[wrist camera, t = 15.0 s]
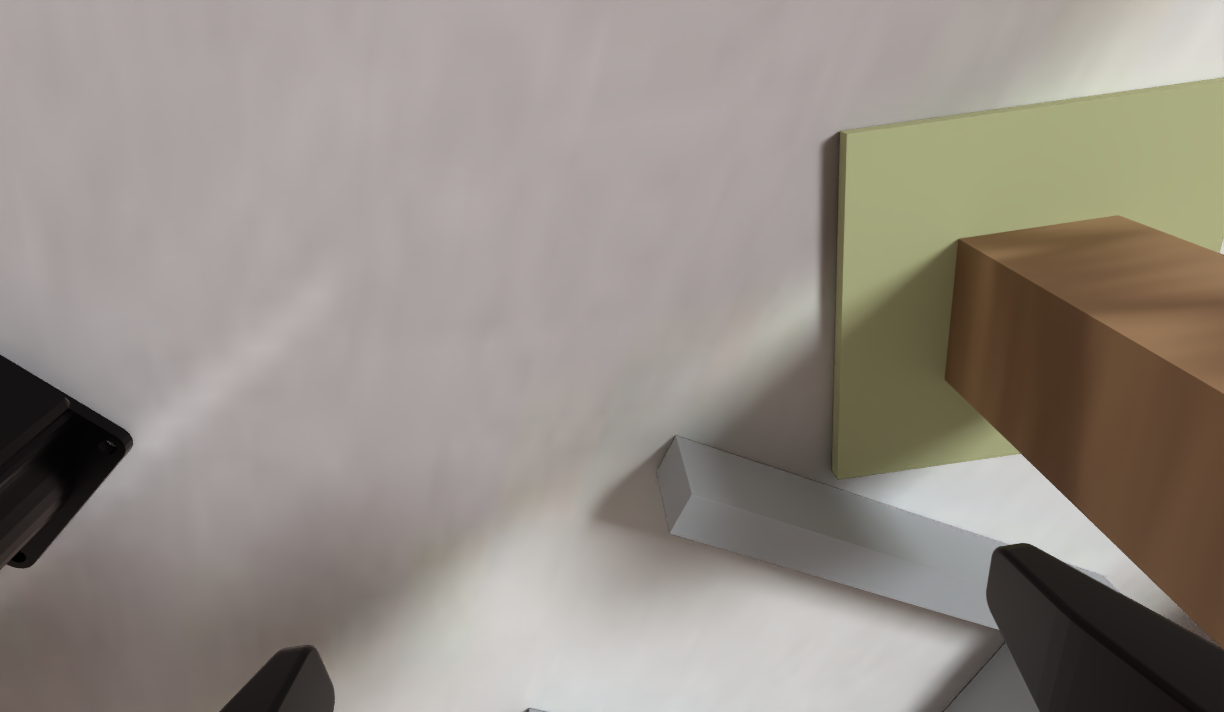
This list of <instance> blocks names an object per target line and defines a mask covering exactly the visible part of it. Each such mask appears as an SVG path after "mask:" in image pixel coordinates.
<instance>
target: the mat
mask: <svg viewBox="0 0 1224 712" xmlns="http://www.w3.org/2000/svg"><path fill="white" fill-rule="evenodd" d="M1116 215H1119V216H1122V217H1125V218H1127V219H1130V220H1133V221H1135V222H1138V223H1141V224H1143V225H1146V226H1149V227H1151V228H1154V229H1157V230H1159V231H1162V232H1165V233H1167V234H1170V235H1173V236H1175V237H1178V238H1181V239H1183V240H1186V241H1188V242H1191V243H1194V244H1196V245H1199V246H1202V247H1204V248H1207V249H1210V250H1212V251H1215V252H1218V253H1219V252H1220V249H1221V245H1222V242H1223V238H1224V78H1217V79H1210V80H1202V81H1195V82H1188V83H1181V84H1174V85H1166V86H1159V87H1152V88H1145V89H1138V90H1131V91H1123V92H1116V93H1109V94H1102V95H1095V96H1087V97H1080V98H1073V99H1066V100H1059V101H1052V102H1044V103H1037V104H1030V105H1023V106H1016V107H1008V108H1001V109H994V110H987V111H980V112H973V113H965V114H958V115H951V116H944V117H937V118H929V119H922V120H915V121H908V122H901V123H894V124H886V125H879V126H872V127H865V128H858V129H850V130H843V131H840V152H839V194H838V236H837V278H836V320H835V362H834V405H833V447H832V472H833V473H834V475H835V477H836V479H837V480H840V479H847V478H854V477H861V476H868V475H875V474H882V473H889V472H896V471H903V470H910V469H917V468H924V467H931V466H938V465H945V464H952V463H959V462H966V461H973V460H980V459H987V458H994V457H1001V456H1007V455H1014V454H1021V453H1020V452H1019V451H1018V450H1017V449H1016V448H1015V447H1014V446H1013V445H1012V444H1011V443H1010V442H1009V441H1007V440H1006V439H1005V438H1004V437H1003V436H1002V435H1001V434H1000V433H999V432H998V431H997V430H996V429H995V428H994V427H993V426H992V425H991V424H990V423H989V422H988V421H987V420H986V419H985V418H984V417H983V416H982V415H981V414H980V413H979V412H978V411H976V410H975V409H974V408H973V407H972V406H971V405H970V404H969V403H968V402H967V401H966V400H965V399H964V398H963V397H962V396H961V395H960V394H959V393H958V392H957V391H956V390H955V389H954V388H953V387H952V386H951V385H950V384H949V383H948V382H947V381H945V370H946V359H947V349H948V339H949V329H950V318H951V308H952V298H953V287H954V277H955V267H956V257H957V246H958V239H960V238H966V237H973V236H980V235H987V234H994V233H1000V232H1007V231H1014V230H1021V229H1027V228H1034V227H1041V226H1048V225H1055V224H1061V223H1068V222H1075V221H1082V220H1089V219H1095V218H1102V217H1109V216H1116Z"/></svg>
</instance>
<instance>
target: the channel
mask: <svg viewBox="0 0 1224 712" xmlns="http://www.w3.org/2000/svg"><path fill="white" fill-rule="evenodd" d="M656 473H657V477H658V482H659V487H660V492H661V496H662V501H663V506H664V510H665V515H666V520H667V525H668V529H669V534H672V535H676V536H679V537H683V538H686V539H689V540H693V541H696V542H700V543H703V544H706V545H710V546H713V547H717V548H720V549H724V550H727V551H730V552H734V553H737V554H741V555H744V556H748V557H751V558H754V559H758V560H761V561H765V562H768V563H772V564H775V565H778V566H782V567H785V568H789V569H792V570H796V571H799V572H802V573H806V574H809V575H813V576H816V577H820V578H823V579H826V580H830V581H833V582H837V583H840V584H844V585H847V586H850V587H854V588H857V589H861V590H864V591H868V592H871V593H874V594H878V595H881V596H885V597H888V598H892V599H895V600H898V601H902V602H905V603H909V604H912V605H916V606H919V607H922V608H926V609H929V610H933V611H936V612H940V613H943V614H946V615H950V616H953V617H957V618H960V619H964V620H967V621H970V622H974V623H977V624H981V625H984V626H987V627H991V628H994V629H998V627H997V624H996V622H995V620H994V618H993V616H992V614H991V612H990V610H989V607H988V604H987V600H986V587H987V581H988V575H989V569H990V563H991V557H992V553H993V551H994V550H995V549H996V548H997V547H999V546H1006V545H1008V544H1004V543H1001V542H998V541H995V540H992V539H989V538H986V537H983V536H980V535H977V534H974V533H971V532H968V531H965V530H962V529H959V528H956V527H953V526H950V525H947V524H944V523H941V522H938V521H934V520H931V519H928V518H925V517H922V516H919V515H916V514H913V513H910V512H907V511H904V510H901V509H898V508H895V507H892V506H889V505H886V504H883V503H880V502H877V501H874V500H871V499H868V498H864V497H861V496H858V495H855V494H852V493H849V492H846V491H843V490H840V489H837V488H834V487H831V486H828V485H825V484H822V483H819V482H816V481H813V480H810V479H807V478H804V477H801V476H798V475H794V474H791V473H788V472H785V471H782V470H779V469H776V468H773V467H770V466H767V465H764V464H761V463H758V462H755V461H752V460H749V459H746V458H743V457H740V456H737V455H734V454H731V453H728V452H724V451H721V450H718V449H715V448H712V447H709V446H706V445H703V444H700V443H697V442H694V441H691V440H688V439H685V438H682V437H679V436H675V438H674V440H673V442H672V444H671V446H670V447H669V449H668V451H667V453H666V455H665V457H664V459H663V460H662V462H661V464H660V466H659V468H658V470H657V472H656ZM1070 566H1071V565H1070ZM1071 567H1073V568H1075V569H1077V570H1079V571H1081V572H1082V573H1084V574H1086V575H1088V576H1090V577H1092V578H1093V579H1095V580H1097V581H1099V582H1101V583H1103V584H1104V585H1106V586H1108V587H1110V588H1112V589H1114V590H1115V591H1117V592H1119V591H1118V590H1117V589H1116V588H1115V587H1114V586H1113V585H1112V584H1111V583H1110V582H1109V581H1108V580H1107V579H1106V578H1105V577H1104V576H1102V575H1099V574H1096V573H1093V572H1090V571H1087V570H1084V569H1081V568H1078V567H1074V566H1071ZM1119 593H1120V592H1119ZM998 630H999V629H998ZM528 712H544V711H539V710H535V709H530V708H529V710H528ZM944 712H1039V710H1038V708H1037V706H1036V704H1035V702H1034V700H1033V698H1032V696H1031V694H1030V692H1029V690H1028V688H1027V686H1026V684H1025V682H1024V680H1023V678H1022V676H1021V674H1020V672H1019V670H1018V667H1017V665H1016V663H1015V661H1014V659H1013V657H1012V655H1011V653H1010V651H1009V649H1008V647H1007V645H1006V643H1005V644H1004V645H1003V646H1002V647H1001V648H1000V649H999V650H998V652H997V653H996V654H995V655H994V656H993V657H992V658H991V659H990V660H989V662H988V663H987V664H986V665H985V666H984V667H983V668H982V669H981V671H980V672H979V673H978V674H977V675H976V676H975V677H974V678H973V680H972V681H971V682H970V683H969V684H968V685H967V686H966V687H965V688H964V690H963V691H962V692H961V693H960V694H959V695H958V696H957V697H956V699H955V700H954V701H953V702H952V703H951V704H950V705H949V706H948V708H947V709H946V710H945V711H944Z"/></svg>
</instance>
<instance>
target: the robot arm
mask: <svg viewBox="0 0 1224 712" xmlns="http://www.w3.org/2000/svg"><path fill="white" fill-rule="evenodd" d="M106 440H109V441H112V442H113V443H114V444H115V445H116V447H115V446H112V445H110V444H109V443H108V442H107V441H106ZM132 446H133V439H132V437H131V435H130V434H129V433H128V432H127V431H126V430H125V429H123V428H121V427H120V426H118V425H116V424H115V423H113V422H111V421H110V420H108V419H106V418H105V417H103V416H101V415H100V414H98V413H97V412H95V411H93V410H92V409H90V408H88V407H87V406H85V405H83V404H82V403H80V402H78V401H77V400H75V399H73V398H72V397H70V396H68V395H67V394H65V393H63V392H62V391H60V390H58V389H57V388H55V387H53V386H52V385H50V384H48V383H47V382H45V381H43V380H42V379H40V378H38V377H37V376H35V375H33V374H32V373H30V372H28V371H27V370H25V369H23V368H22V367H20V366H18V365H17V364H15V363H13V362H12V361H10V360H8V359H7V358H5V357H3V356H2V355H0V570H1V569H2V568H3V567H4V566H5V565H6V564H7V565H9V566H12V567H15V568H28V567H30V566H32V565H33V564H34V563H35V562H36V561H37V560H38V559H39V558H40V557H41V555H42V554H43V553H44V552H45V551H46V550H47V548H48V547H49V546H50V545H51V544H52V542H53V541H54V540H55V539H56V538H57V536H58V535H59V534H60V533H61V532H62V530H63V529H64V528H65V527H66V526H67V525H68V523H69V522H70V521H71V520H72V519H73V517H74V516H75V515H76V514H77V513H78V511H79V510H80V509H81V508H82V507H83V506H84V504H85V503H86V502H87V501H88V500H89V498H90V497H91V496H92V495H93V494H94V492H95V491H96V490H97V489H98V488H99V486H100V485H101V484H102V483H103V482H104V481H105V479H106V478H107V477H108V476H109V475H110V473H111V472H112V471H113V470H114V469H115V467H116V466H117V465H118V464H119V463H120V461H121V460H122V459H123V458H124V457H125V456H126V454H127V453H128V452H129V451H130V450H131V448H132ZM986 600H987V604H988V607H989V610H990V612H991V614H992V616H993V618H994V620H995V622H996V624H997V627H998V629H999V631H1000V633H1001V635H1002V637H1003V639H1004V641H1005V643H1006V645H1007V647H1008V649H1009V651H1010V653H1011V655H1012V657H1013V659H1014V661H1015V663H1016V665H1017V667H1018V670H1019V672H1020V674H1021V676H1022V678H1023V680H1024V682H1025V684H1026V686H1027V688H1028V690H1029V692H1030V694H1031V696H1032V698H1033V700H1034V702H1035V704H1036V706H1037V708H1038V710H1039V712H1224V650H1223V649H1222V648H1220V647H1218V646H1216V645H1214V644H1212V643H1211V642H1209V641H1207V640H1205V639H1203V638H1201V637H1200V636H1198V635H1196V634H1194V633H1192V632H1190V631H1189V630H1187V629H1185V628H1183V627H1181V626H1179V625H1178V624H1176V623H1174V622H1172V621H1170V620H1168V619H1167V618H1165V617H1163V616H1161V615H1159V614H1157V613H1156V612H1154V611H1152V610H1150V609H1148V608H1146V607H1145V606H1143V605H1141V604H1139V603H1137V602H1136V601H1134V600H1132V599H1130V598H1128V597H1126V596H1125V595H1123V594H1121V593H1119V592H1117V591H1115V590H1114V589H1112V588H1110V587H1108V586H1106V585H1104V584H1103V583H1101V582H1099V581H1097V580H1095V579H1093V578H1092V577H1090V576H1088V575H1086V574H1084V573H1082V572H1081V571H1079V570H1077V569H1075V568H1073V567H1071V566H1070V565H1068V564H1066V563H1064V562H1062V561H1060V560H1059V559H1057V558H1055V557H1053V556H1051V555H1049V554H1048V553H1046V552H1044V551H1042V550H1040V549H1038V548H1037V547H1035V546H1033V545H1030V544H1027V543H1020V544H1013V545H1006V546H999V547H997V548H996V549H995V550H994V551H993V553H992V557H991V563H990V569H989V575H988V581H987V587H986ZM334 703H335V694H334V687H333V684H332V682H331V679H330V677H329V675H328V673H327V670H326V668H325V666H324V664H323V661H322V659H321V657H320V655H319V652H318V651H317V649H316V648H315V647H314V646H312V645H303V646H296V647H289V648H284V649H281V650H280V651H278V652H277V653H276V654H275V655H274V656H273V657H272V658H271V659H270V660H269V661H268V662H267V663H266V664H265V665H264V666H263V667H262V668H261V669H260V670H259V671H258V672H257V673H256V674H255V675H254V676H253V677H252V678H251V679H250V681H249V682H248V683H247V684H246V685H245V686H244V687H243V688H242V689H241V690H240V691H239V692H238V693H237V694H236V695H235V696H234V697H233V698H232V699H231V700H230V701H229V702H228V703H227V704H226V705H225V706H224V707H223V708H222V709H221V710H220V711H219V712H333V711H334Z"/></svg>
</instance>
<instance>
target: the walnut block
mask: <svg viewBox="0 0 1224 712" xmlns="http://www.w3.org/2000/svg"><path fill="white" fill-rule="evenodd" d="M945 381H947V382H948V383H949V384H950V385H951V386H952V387H953V388H954V389H955V390H956V391H957V392H958V393H959V394H960V395H961V396H962V397H963V398H964V399H965V400H966V401H967V402H968V403H969V404H970V405H971V406H972V407H973V408H974V409H975V410H976V411H978V412H979V413H980V414H981V415H982V416H983V417H984V418H985V419H986V420H987V421H988V422H989V423H990V424H991V425H992V426H993V427H994V428H995V429H996V430H997V431H998V432H999V433H1000V434H1001V435H1002V436H1003V437H1004V438H1005V439H1006V440H1007V441H1009V442H1010V443H1011V444H1012V445H1013V446H1014V447H1015V448H1016V449H1017V450H1018V451H1019V452H1020V453H1021V454H1022V455H1023V456H1024V457H1025V458H1026V459H1027V460H1028V461H1029V462H1030V463H1031V464H1032V465H1033V466H1034V467H1035V468H1036V469H1037V470H1038V471H1039V472H1041V473H1042V474H1043V475H1044V476H1045V477H1046V478H1047V479H1048V480H1049V481H1050V482H1051V483H1052V484H1053V485H1054V486H1055V487H1056V488H1057V489H1058V490H1059V491H1060V492H1061V493H1062V494H1063V495H1064V496H1065V497H1066V498H1067V499H1068V500H1069V501H1070V502H1072V503H1073V504H1074V505H1075V506H1076V507H1077V508H1078V509H1079V510H1080V511H1081V512H1082V513H1083V514H1084V515H1085V516H1086V517H1087V518H1088V519H1089V520H1090V521H1091V522H1092V523H1093V524H1094V525H1095V526H1096V527H1097V528H1098V529H1099V530H1100V531H1101V532H1103V533H1104V534H1105V535H1106V536H1107V537H1108V538H1109V539H1110V540H1111V541H1112V542H1113V543H1114V544H1115V545H1116V546H1117V547H1118V548H1119V549H1120V550H1121V551H1122V552H1123V553H1124V554H1125V555H1126V556H1127V557H1128V558H1129V559H1130V560H1131V561H1132V562H1133V563H1135V564H1136V565H1137V566H1138V567H1139V568H1140V569H1141V570H1142V571H1143V572H1144V573H1145V574H1146V575H1147V576H1148V577H1149V578H1150V579H1151V580H1152V581H1153V582H1154V583H1155V584H1156V585H1157V586H1158V587H1159V588H1160V589H1161V590H1162V591H1163V592H1164V593H1166V594H1167V595H1168V596H1169V597H1170V598H1171V599H1172V600H1173V601H1174V602H1175V603H1176V604H1177V605H1178V606H1179V607H1180V608H1181V609H1182V610H1183V611H1184V612H1185V613H1186V614H1187V615H1188V616H1189V617H1190V618H1191V619H1192V620H1193V621H1194V622H1195V623H1197V624H1198V625H1199V626H1200V627H1201V628H1202V629H1203V630H1204V631H1205V632H1206V633H1207V634H1208V635H1209V636H1210V637H1211V638H1212V639H1213V640H1214V641H1215V642H1216V643H1217V644H1218V645H1219V646H1220V647H1221V648H1222V649H1223V650H1224V255H1223V254H1220V253H1218V252H1215V251H1212V250H1210V249H1207V248H1204V247H1202V246H1199V245H1196V244H1194V243H1191V242H1188V241H1186V240H1183V239H1181V238H1178V237H1175V236H1173V235H1170V234H1167V233H1165V232H1162V231H1159V230H1157V229H1154V228H1151V227H1149V226H1146V225H1143V224H1141V223H1138V222H1135V221H1133V220H1130V219H1127V218H1125V217H1122V216H1119V215H1116V216H1109V217H1102V218H1095V219H1089V220H1082V221H1075V222H1068V223H1061V224H1055V225H1048V226H1041V227H1034V228H1027V229H1021V230H1014V231H1007V232H1000V233H994V234H987V235H980V236H973V237H966V238H960V239H958V246H957V257H956V267H955V277H954V287H953V298H952V308H951V318H950V329H949V339H948V349H947V359H946V370H945Z"/></svg>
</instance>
